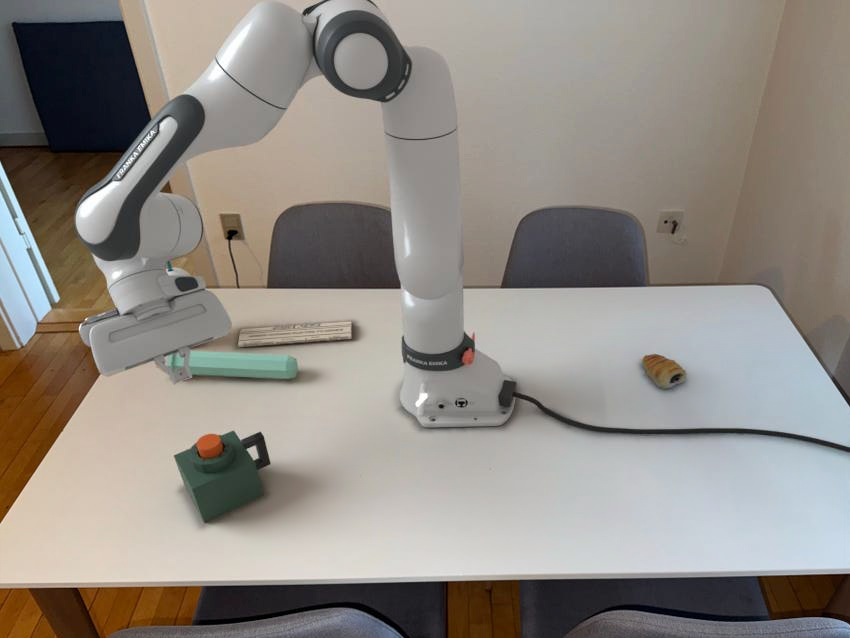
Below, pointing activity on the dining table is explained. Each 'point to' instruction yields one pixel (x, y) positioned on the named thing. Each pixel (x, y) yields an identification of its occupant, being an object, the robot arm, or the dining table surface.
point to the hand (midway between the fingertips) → (182, 380)
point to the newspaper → (295, 334)
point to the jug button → (209, 446)
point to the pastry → (663, 370)
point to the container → (237, 364)
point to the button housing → (219, 478)
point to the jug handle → (258, 449)
